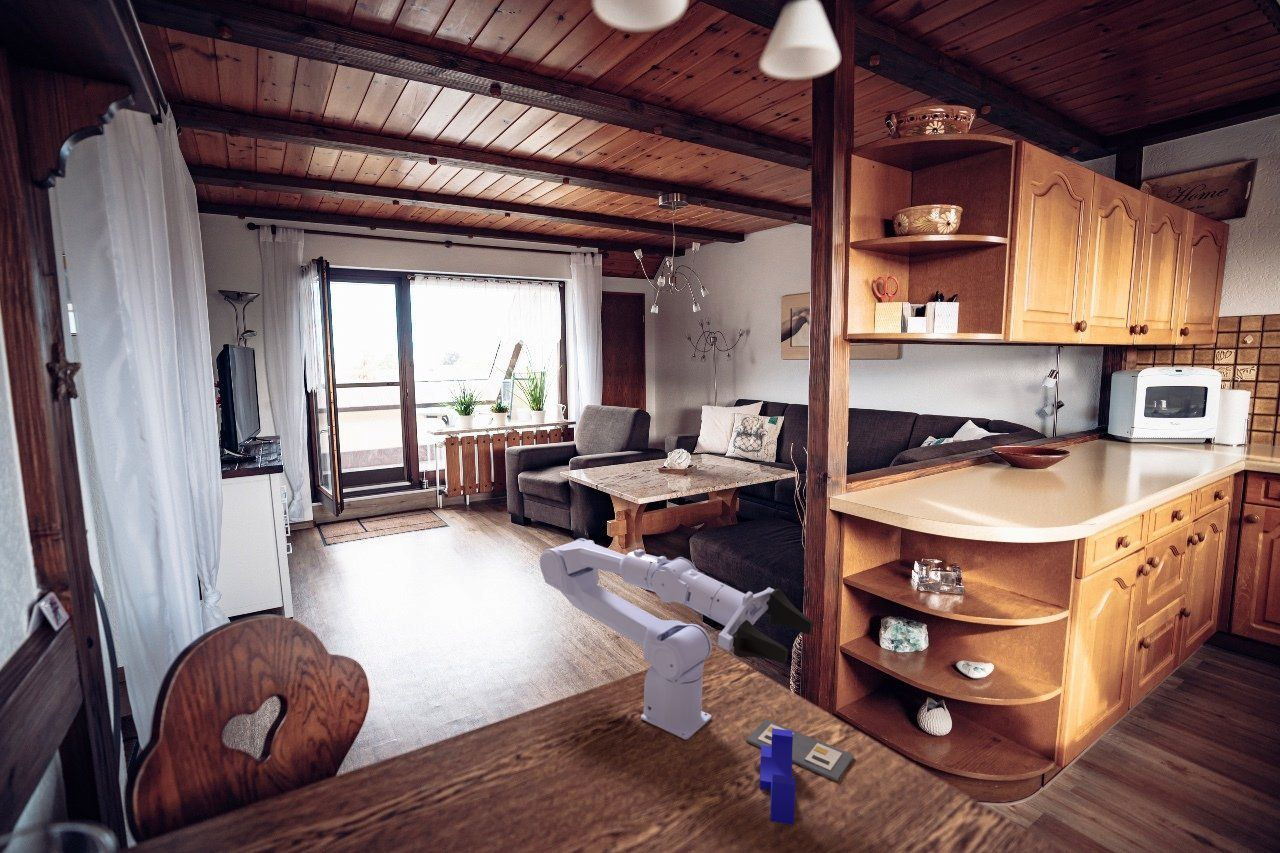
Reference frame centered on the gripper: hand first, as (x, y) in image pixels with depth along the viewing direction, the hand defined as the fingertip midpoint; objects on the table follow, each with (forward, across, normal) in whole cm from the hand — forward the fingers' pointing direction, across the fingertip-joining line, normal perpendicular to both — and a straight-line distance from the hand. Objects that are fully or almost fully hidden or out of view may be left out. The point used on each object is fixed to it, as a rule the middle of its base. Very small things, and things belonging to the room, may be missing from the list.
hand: (799, 642), depth 92 cm
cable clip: (+3, -9, +20) cm, 22 cm away
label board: (+2, +2, +22) cm, 22 cm away
